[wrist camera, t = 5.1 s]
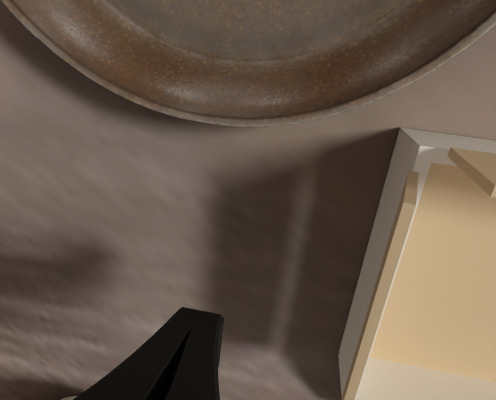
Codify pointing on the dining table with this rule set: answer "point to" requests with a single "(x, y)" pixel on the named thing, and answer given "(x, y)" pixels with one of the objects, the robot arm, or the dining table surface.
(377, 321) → the flap
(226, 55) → the plant saucer
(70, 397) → the lidded bowl
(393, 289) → the carton
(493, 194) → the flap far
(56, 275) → the dining table surface
